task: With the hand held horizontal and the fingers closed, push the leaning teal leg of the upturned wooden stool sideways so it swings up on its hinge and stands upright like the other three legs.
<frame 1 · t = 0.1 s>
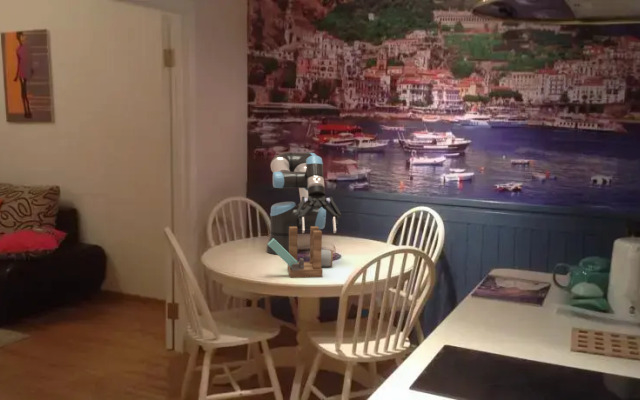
hand: (319, 231, 266), 15 cm above the table, tool tilted 35°, fingers open, 13 cm apart
ceramic mug: (321, 266, 271), on the table
hinged leg: (284, 254, 251), point 9 cm above the table, hinge at 45.0°
upturned wooden stool: (304, 273, 258), on the table
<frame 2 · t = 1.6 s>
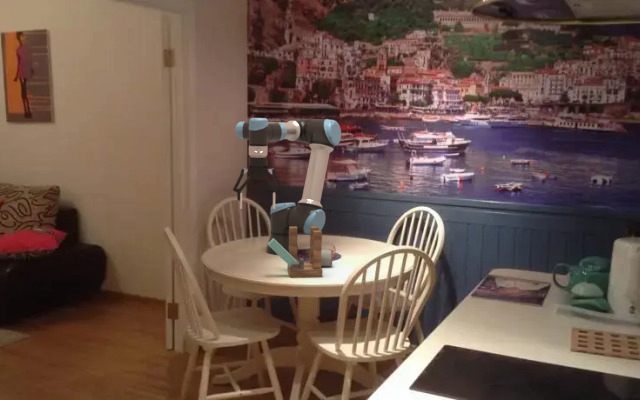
hand: (257, 208, 254), 27 cm above the table, tool pointing down, fingers open, 13 cm apart
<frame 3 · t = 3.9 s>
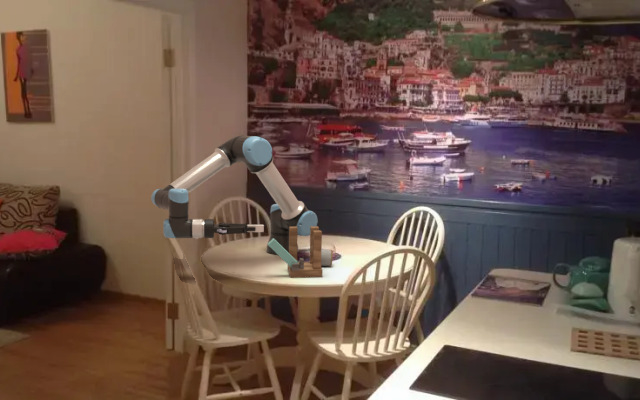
hand: (263, 228, 249), 20 cm above the table, tool horizontal, fingers closed
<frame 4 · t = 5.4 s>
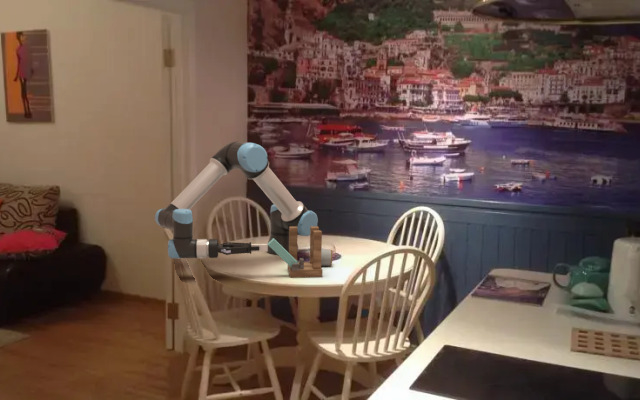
hand: (267, 247, 250), 12 cm above the table, tool horizontal, fingers closed
hinged leg: (284, 254, 251), point 9 cm above the table, hinge at 45.0°, touching gripper
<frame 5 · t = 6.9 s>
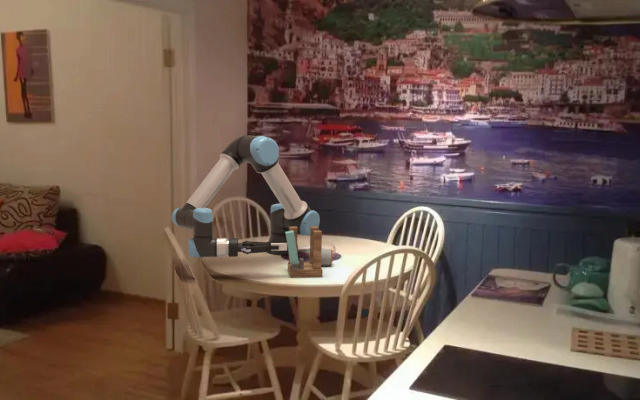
hand: (286, 246, 251), 12 cm above the table, tool horizontal, fingers closed
hinged leg: (292, 250, 252), point 11 cm above the table, hinge at 9.6°, touching gripper
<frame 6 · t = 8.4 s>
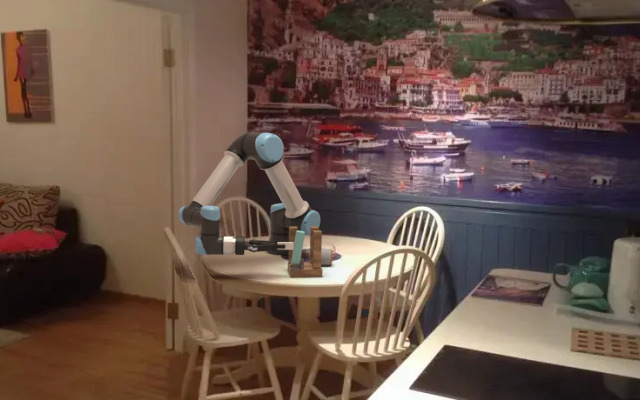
hand: (293, 246, 251), 13 cm above the table, tool horizontal, fingers closed
hinged leg: (297, 249, 252), point 11 cm above the table, hinge at -8.9°, touching gripper, upturned wooden stool
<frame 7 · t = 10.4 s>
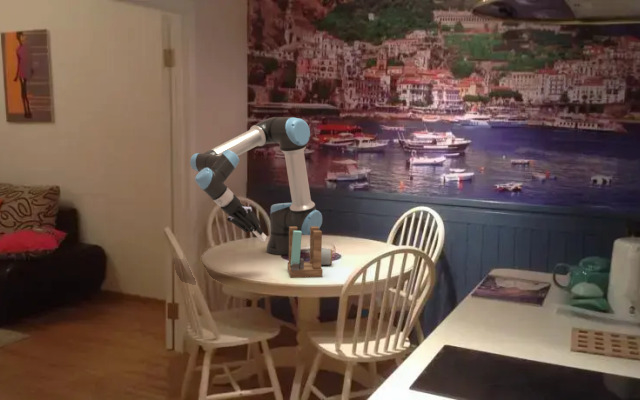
hand: (264, 239, 254), 14 cm above the table, tool tilted 45°, fingers closed
hinged leg: (296, 249, 252), point 11 cm above the table, hinge at -3.6°
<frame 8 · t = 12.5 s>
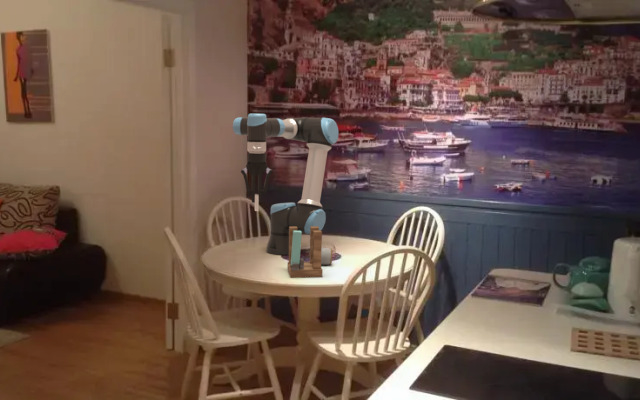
hand: (256, 210, 252), 26 cm above the table, tool pointing down, fingers closed
at the end: hinged leg at -4° (first picture: +45°); hinged leg tilted 4° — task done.
